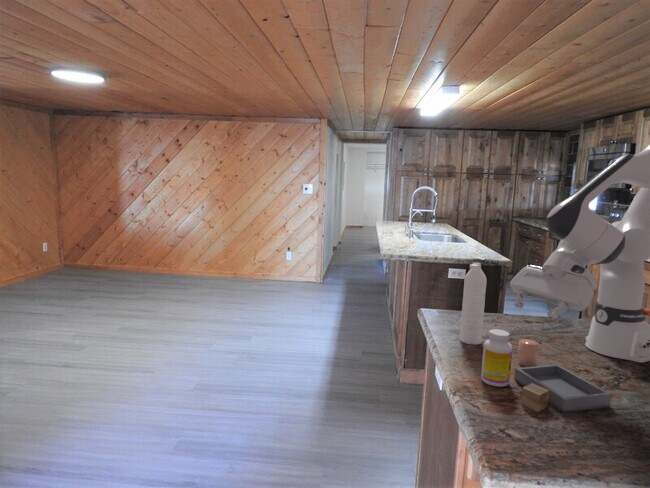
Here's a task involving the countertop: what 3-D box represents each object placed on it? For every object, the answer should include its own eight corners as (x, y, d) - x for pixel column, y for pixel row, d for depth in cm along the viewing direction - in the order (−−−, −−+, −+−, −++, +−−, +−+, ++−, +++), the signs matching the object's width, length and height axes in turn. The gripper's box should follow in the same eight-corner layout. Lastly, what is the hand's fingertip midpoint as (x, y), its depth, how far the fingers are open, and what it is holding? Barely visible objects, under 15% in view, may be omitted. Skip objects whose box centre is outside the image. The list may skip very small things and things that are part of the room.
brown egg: (528, 358, 123) (530, 338, 122) (541, 366, 118) (543, 345, 117) (513, 360, 122) (515, 339, 121) (525, 367, 117) (527, 346, 116)
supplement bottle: (511, 389, 104) (516, 338, 102) (483, 386, 106) (487, 335, 104) (506, 377, 111) (510, 329, 109) (479, 374, 112) (483, 326, 110)
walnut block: (530, 399, 100) (532, 383, 99) (547, 407, 97) (549, 390, 96) (520, 404, 98) (522, 387, 97) (537, 412, 94) (539, 395, 94)
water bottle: (461, 336, 140) (467, 260, 136) (483, 340, 137) (489, 262, 133) (456, 344, 132) (462, 264, 128) (478, 349, 129) (485, 267, 125)
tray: (555, 375, 113) (557, 364, 112) (609, 406, 98) (611, 393, 97) (514, 379, 110) (515, 368, 109) (563, 412, 94) (564, 399, 94)
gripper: (521, 257, 122) (495, 294, 119) (596, 271, 104) (566, 315, 101) (530, 271, 125) (504, 307, 122) (604, 287, 107) (576, 331, 104)
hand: (533, 311), depth 111 cm, fingers open, 8 cm apart
